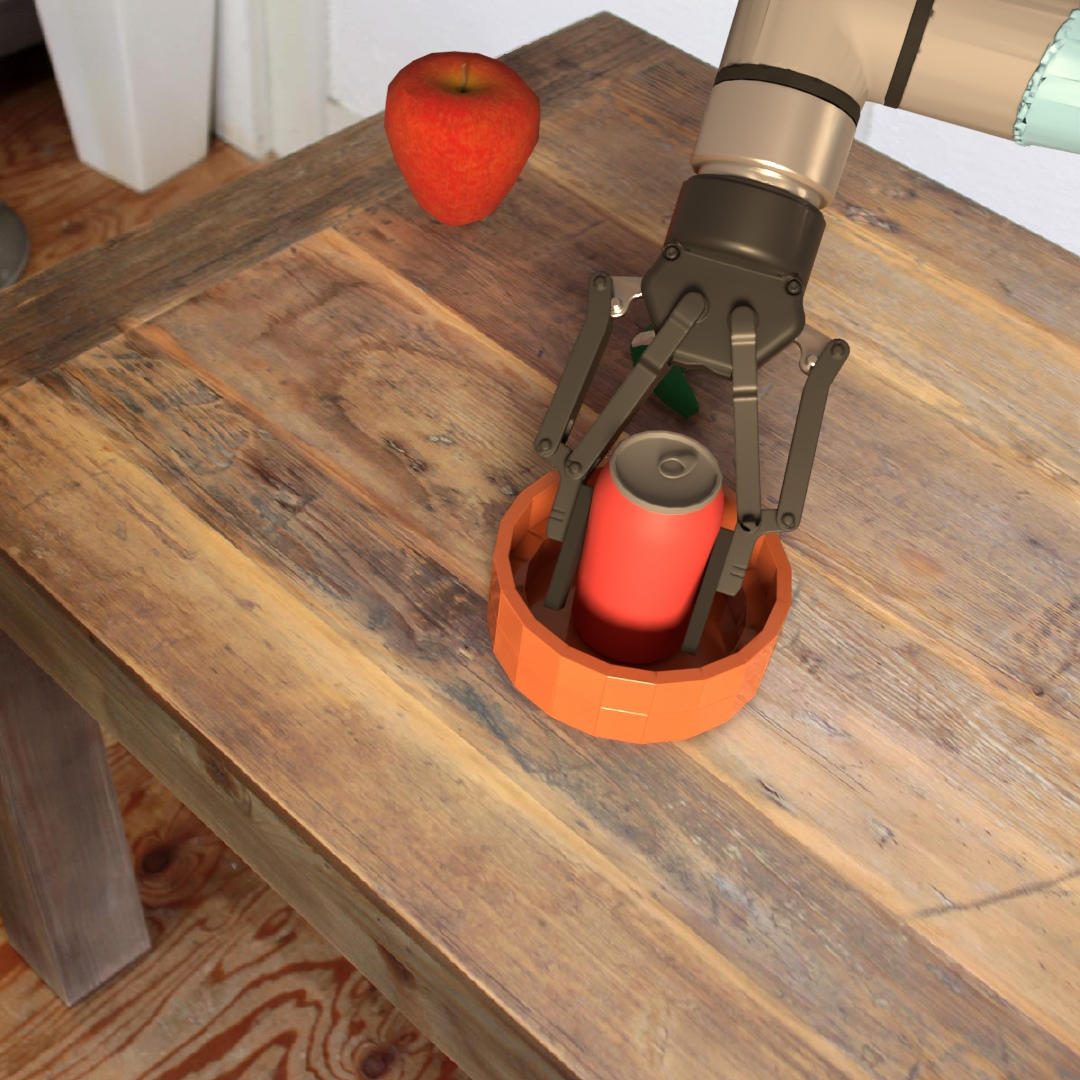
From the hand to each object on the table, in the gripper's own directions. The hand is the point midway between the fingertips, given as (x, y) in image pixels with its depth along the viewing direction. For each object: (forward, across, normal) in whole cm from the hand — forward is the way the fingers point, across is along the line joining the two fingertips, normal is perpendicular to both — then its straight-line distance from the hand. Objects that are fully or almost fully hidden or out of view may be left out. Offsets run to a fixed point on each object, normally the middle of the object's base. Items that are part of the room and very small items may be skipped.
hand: (621, 628), depth 68 cm
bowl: (+1, 0, -6) cm, 6 cm away
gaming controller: (-15, +2, -22) cm, 27 cm away
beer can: (0, 0, -5) cm, 5 cm away
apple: (-23, +23, -29) cm, 43 cm away
